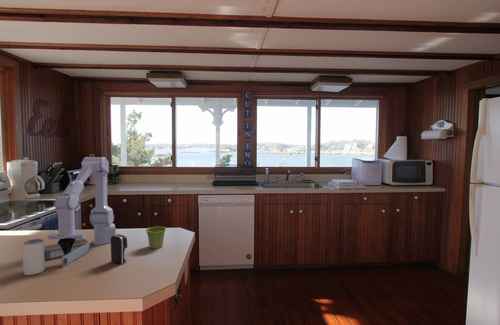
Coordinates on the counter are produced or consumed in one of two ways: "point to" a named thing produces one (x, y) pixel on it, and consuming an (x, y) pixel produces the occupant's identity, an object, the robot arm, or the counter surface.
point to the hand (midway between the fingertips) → (67, 255)
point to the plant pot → (155, 236)
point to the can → (33, 257)
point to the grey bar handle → (75, 254)
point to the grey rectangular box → (57, 251)
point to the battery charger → (118, 248)
